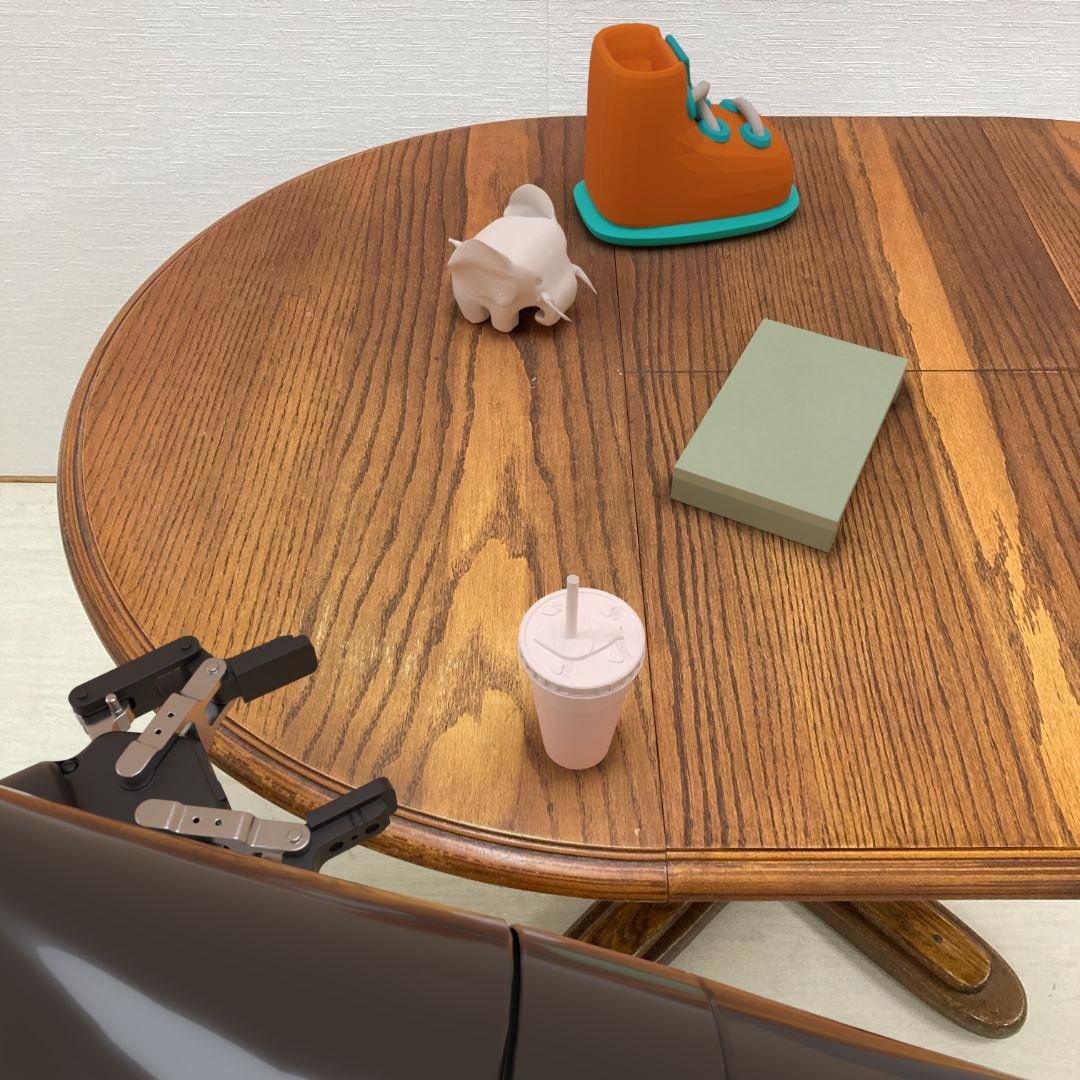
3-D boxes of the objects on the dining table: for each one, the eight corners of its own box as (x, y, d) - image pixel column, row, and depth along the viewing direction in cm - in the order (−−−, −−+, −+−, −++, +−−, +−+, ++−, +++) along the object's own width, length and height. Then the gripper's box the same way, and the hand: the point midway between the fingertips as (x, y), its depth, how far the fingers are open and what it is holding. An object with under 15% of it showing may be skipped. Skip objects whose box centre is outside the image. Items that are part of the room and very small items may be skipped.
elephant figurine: (556, 369, 84) (558, 268, 77) (421, 323, 87) (412, 224, 81) (610, 302, 89) (616, 203, 83) (481, 262, 93) (477, 164, 87)
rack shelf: (828, 553, 71) (838, 521, 69) (669, 498, 75) (673, 466, 72) (899, 391, 82) (909, 359, 80) (757, 349, 85) (763, 317, 83)
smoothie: (514, 698, 64) (510, 533, 53) (624, 688, 64) (641, 522, 54) (525, 797, 59) (523, 639, 49) (643, 785, 60) (665, 626, 50)
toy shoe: (815, 232, 96) (851, 61, 85) (597, 261, 93) (605, 88, 82) (764, 163, 104) (792, -2, 93) (562, 188, 101) (565, 20, 90)
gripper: (-24, 1025, 36) (417, 800, 42) (-103, 711, 45) (276, 557, 50) (49, 1094, 42) (430, 886, 48) (-33, 803, 50) (301, 655, 56)
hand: (351, 718), depth 49 cm, fingers open, 8 cm apart
